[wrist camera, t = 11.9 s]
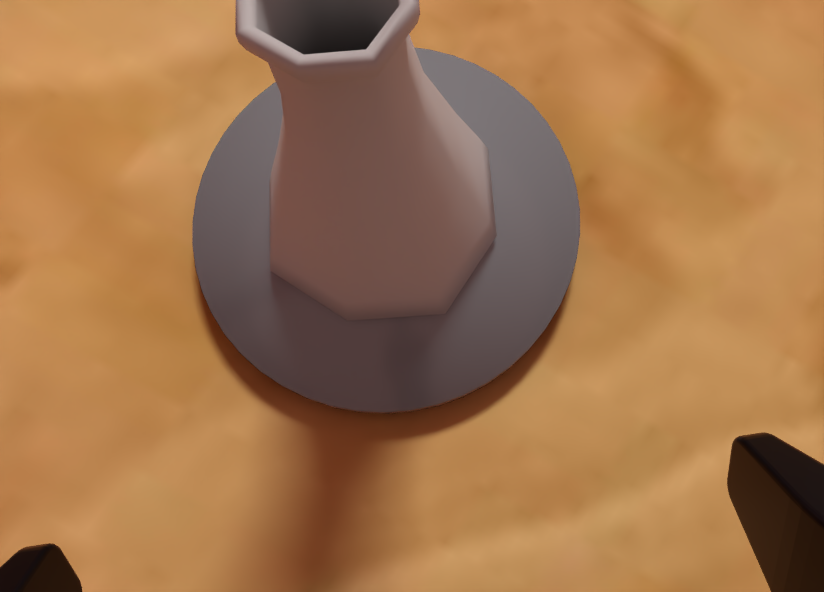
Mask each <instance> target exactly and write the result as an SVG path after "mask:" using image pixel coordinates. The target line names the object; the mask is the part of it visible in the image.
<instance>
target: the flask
mask: <svg viewBox="0 0 824 592" xmlns="http://www.w3.org/2000/svg"><path fill="white" fill-rule="evenodd" d="M419 15H420V8H419V0H236V36H237V39H238V42H239V43H240V44H241V45H242V46H243V47H244V48H245V49H246V50H247V51H249V52H251V53H253V54H254V55H256V56H258V57H260V58H261V59H263V60H265V61H267V62H268V63H269V66H270V68H271V71H272V73H273V76H274V78H275V81H276V83H277V86H278V88H279V91H280V93H281V100H282V108H283V118H282V124H281V131H280V137H279V143H278V147H277V151H276V155H275V159H274V163H273V167H272V171H271V177H270V183H269V187H270V271H271V272H273V273H275V274H276V275H278V276H279V277H281V278H282V279H284V280H285V281H287V282H288V283H290V284H292V285H293V286H295V287H296V288H298V289H299V290H301V291H302V292H304V293H305V294H307V295H309V296H310V297H312V298H313V299H315V300H316V301H318V302H319V303H321V304H323V305H324V306H326V307H327V308H329V309H330V310H332V311H333V312H335V313H336V314H338V315H340V316H341V317H343V318H344V319H346V320H347V321H352V320H366V319H380V318H394V317H409V316H423V315H437V314H445V313H446V312H447V310H448V309H449V307H450V306H451V304H452V303H453V301H454V300H455V298H456V297H457V295H458V294H459V292H460V291H461V289H462V288H463V286H464V285H465V283H466V282H467V280H468V279H469V277H470V276H471V274H472V273H473V271H474V270H475V268H476V266H477V265H478V263H479V262H480V260H481V259H482V257H483V256H484V254H485V253H486V251H487V250H488V248H489V247H490V245H491V244H492V242H493V241H494V239H495V238H496V236H497V233H496V223H495V212H494V202H493V192H492V182H491V172H490V162H489V152H488V148H487V147H486V146H485V144H484V143H483V142H482V141H481V139H480V138H479V137H478V136H477V135H476V134H475V133H474V132H473V131H472V130H471V129H470V128H469V126H468V125H467V124H466V123H465V122H464V121H463V120H462V119H461V118H460V117H459V116H458V115H457V114H456V112H455V111H454V110H453V109H452V107H451V106H450V105H449V104H448V102H447V101H446V100H445V98H444V97H443V96H442V95H441V93H440V92H439V91H438V89H437V88H436V87H435V86H434V84H433V83H432V82H431V81H430V79H429V78H428V77H427V75H426V74H425V73H424V72H423V69H422V66H421V64H420V61H419V59H418V56H417V54H416V51H415V48H414V46H413V43H412V41H411V38H410V35H409V33H410V32H411V31H412V29H413V28H414V27H415V25H416V24H417V22H418V19H419Z"/></svg>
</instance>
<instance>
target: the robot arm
mask: <svg viewBox="0 0 824 592" xmlns="http://www.w3.org/2000/svg"><path fill="white" fill-rule="evenodd" d="M727 486H728V492H729V495H730V498H731V501H732V503H733V506H734V508H735V510H736V512H737V515H738V517H739V519H740V522H741V524H742V526H743V528H744V531H745V533H746V535H747V538H748V540H749V542H750V544H751V547H752V549H753V551H754V553H755V556H756V558H757V560H758V563H759V565H760V567H761V569H762V572H763V574H764V576H765V579H766V581H767V583H768V585H769V588H770V590H771V592H824V464H822V463H820V462H819V461H817V460H815V459H813V458H812V457H810V456H808V455H806V454H805V453H803V452H801V451H800V450H798V449H796V448H794V447H793V446H791V445H789V444H788V443H786V442H784V441H782V440H781V439H779V438H777V437H775V436H774V435H772V434H769V433H756V434H750V435H743V436H739V437H736V438H735V440H734V441H733V444H732V449H731V456H730V464H729V471H728V478H727ZM0 592H82V586H81V583H80V580H79V578H78V577H77V575H76V573H75V572H74V570H73V568H72V567H71V565H70V564H69V562H68V560H67V559H66V557H65V555H64V554H63V552H62V551H61V549H60V548H59V547H58V546H56V545H55V544H50V543H49V544H43V545H36V546H30V547H25V548H23V549H21V550H19V551H18V552H17V553H15V554H14V555H13V556H12V557H11V558H10V559H9V560H8V561H7V562H6V563H4V564H3V565H2V566H1V567H0Z"/></svg>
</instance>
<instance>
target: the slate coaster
mask: <svg viewBox="0 0 824 592" xmlns="http://www.w3.org/2000/svg"><path fill="white" fill-rule="evenodd" d="M415 51H416V54H417V56H418V59H419V61H420V64H421V66H422V69H423V72H424V73H425V74H426V75H427V77H428V78H429V79H430V81H431V82H432V83H433V84H434V86H435V87H436V88H437V89H438V91H439V92H440V93H441V95H442V96H443V97H444V98H445V100H446V101H447V102H448V104H449V105H450V106H451V107H452V109H453V110H454V111H455V112H456V114H457V115H458V116H459V117H460V118H461V119H462V120H463V121H464V122H465V123H466V124H467V125H468V126H469V128H470V129H471V130H472V131H473V132H474V133H475V134H476V135H477V136H478V137H479V138H480V139H481V141H482V142H483V143H484V144H485V146H486V147H487V148H488V152H489V162H490V172H491V182H492V192H493V202H494V212H495V223H496V233H497V236H496V238H495V239H494V241H493V242H492V244H491V245H490V247H489V248H488V250H487V251H486V253H485V254H484V256H483V257H482V259H481V260H480V262H479V263H478V265H477V266H476V268H475V270H474V271H473V273H472V274H471V276H470V277H469V279H468V280H467V282H466V283H465V285H464V286H463V288H462V289H461V291H460V292H459V294H458V295H457V297H456V298H455V300H454V301H453V303H452V304H451V306H450V307H449V309H448V310H447V312H446V313H445V314H437V315H423V316H409V317H394V318H380V319H366V320H352V321H347V320H346V319H344V318H343V317H341V316H340V315H338V314H336V313H335V312H333V311H332V310H330V309H329V308H327V307H326V306H324V305H323V304H321V303H319V302H318V301H316V300H315V299H313V298H312V297H310V296H309V295H307V294H305V293H304V292H302V291H301V290H299V289H298V288H296V287H295V286H293V285H292V284H290V283H288V282H287V281H285V280H284V279H282V278H281V277H279V276H278V275H276V274H275V273H273V272H271V271H270V187H269V183H270V177H271V171H272V167H273V163H274V159H275V155H276V151H277V147H278V143H279V137H280V131H281V124H282V118H283V108H282V100H281V93H280V91H279V88H278V86H277V83H276V82H275V83H273V84H272V85H271V86H270V87H268V88H267V89H266V90H264V91H263V92H262V93H261V94H259V95H258V96H257V97H256V98H254V99H253V100H252V102H251V103H250V104H249V105H248V106H247V107H246V108H245V109H244V110H243V111H242V112H241V113H240V114H239V115H238V116H237V117H236V118H235V120H234V121H233V122H232V124H231V125H230V126H229V127H228V129H227V130H226V131H225V133H224V134H223V136H222V137H221V139H220V141H219V142H218V144H217V146H216V148H215V149H214V151H213V153H212V155H211V157H210V159H209V161H208V164H207V166H206V168H205V171H204V173H203V175H202V179H201V182H200V186H199V189H198V193H197V196H196V202H195V209H194V216H193V252H194V259H195V267H196V271H197V275H198V278H199V282H200V286H201V289H202V292H203V294H204V297H205V299H206V301H207V304H208V306H209V308H210V310H211V313H212V315H213V316H214V318H215V319H216V321H217V323H218V324H219V326H220V328H221V329H222V331H223V332H224V334H225V335H226V336H227V338H228V339H229V340H230V341H231V342H232V344H233V345H234V346H235V347H236V348H237V350H238V351H239V352H240V353H241V354H242V355H243V356H244V357H245V358H246V359H247V360H248V361H250V362H251V363H252V364H253V365H254V366H255V367H256V368H257V369H258V370H260V371H261V372H262V373H264V374H265V375H267V376H268V377H270V378H271V379H273V380H274V381H276V382H277V383H279V384H280V385H282V386H284V387H286V388H287V389H289V390H292V391H294V392H296V393H298V394H300V395H302V396H304V397H306V398H308V399H310V400H313V401H316V402H319V403H322V404H325V405H328V406H331V407H334V408H339V409H344V410H350V411H355V412H361V413H381V414H390V413H402V412H413V411H418V410H422V409H427V408H431V407H436V406H440V405H442V404H445V403H448V402H451V401H454V400H456V399H459V398H462V397H464V396H466V395H468V394H470V393H472V392H474V391H476V390H478V389H480V388H481V387H483V386H485V385H487V384H488V383H490V382H491V381H493V380H494V379H496V378H497V377H498V376H500V375H501V374H503V373H504V372H505V371H507V370H508V369H509V368H510V367H511V366H512V365H514V364H515V363H516V362H517V361H518V360H519V359H520V358H521V357H522V356H523V355H524V354H525V353H526V352H527V351H528V350H529V349H530V348H531V346H532V345H533V344H534V343H535V342H536V340H537V339H538V338H539V337H540V335H541V334H542V333H543V332H544V330H545V329H546V327H547V326H548V324H549V322H550V321H551V319H552V317H553V316H554V314H555V312H556V311H557V309H558V308H559V306H560V304H561V302H562V299H563V297H564V295H565V292H566V290H567V288H568V286H569V283H570V280H571V277H572V273H573V270H574V266H575V262H576V259H577V252H578V245H579V237H580V208H579V202H578V195H577V189H576V184H575V181H574V177H573V174H572V171H571V167H570V164H569V161H568V159H567V157H566V155H565V153H564V151H563V148H562V146H561V144H560V142H559V140H558V139H557V137H556V135H555V134H554V132H553V131H552V129H551V128H550V126H549V124H548V123H547V121H546V120H545V119H544V118H543V117H542V116H541V114H540V113H539V112H538V111H537V110H536V108H535V107H534V106H533V105H532V104H531V103H530V102H529V101H528V100H527V99H526V98H525V97H524V96H522V95H521V94H520V93H519V92H518V91H517V90H516V89H515V88H513V87H512V86H511V85H509V84H508V83H506V82H505V81H504V80H502V79H501V78H499V77H498V76H496V75H495V74H493V73H491V72H489V71H487V70H485V69H484V68H482V67H480V66H478V65H476V64H474V63H471V62H469V61H466V60H463V59H461V58H458V57H456V56H453V55H449V54H445V53H441V52H437V51H433V50H428V49H421V48H415Z"/></svg>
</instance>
